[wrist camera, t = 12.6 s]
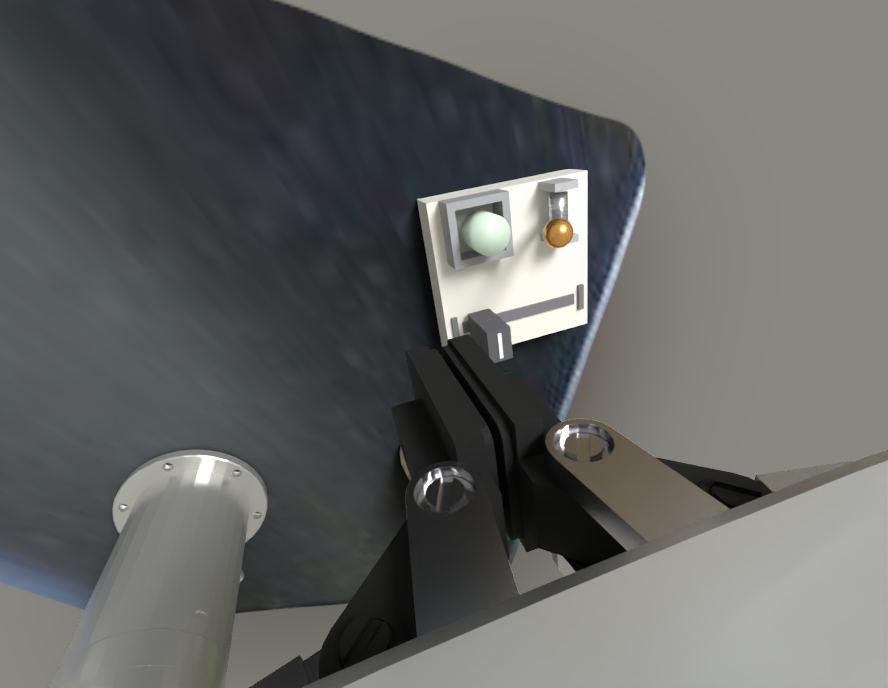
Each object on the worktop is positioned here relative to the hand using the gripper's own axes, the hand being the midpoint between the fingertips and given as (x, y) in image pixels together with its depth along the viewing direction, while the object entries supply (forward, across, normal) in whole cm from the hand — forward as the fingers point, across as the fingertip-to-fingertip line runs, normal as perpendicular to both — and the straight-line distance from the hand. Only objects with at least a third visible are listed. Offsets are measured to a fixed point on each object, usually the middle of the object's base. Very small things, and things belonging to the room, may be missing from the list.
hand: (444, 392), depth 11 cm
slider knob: (+24, -9, +10) cm, 27 cm away
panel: (+27, -13, +6) cm, 31 cm away
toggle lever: (+23, -16, +2) cm, 28 cm away
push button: (+23, -10, +2) cm, 25 cm away
